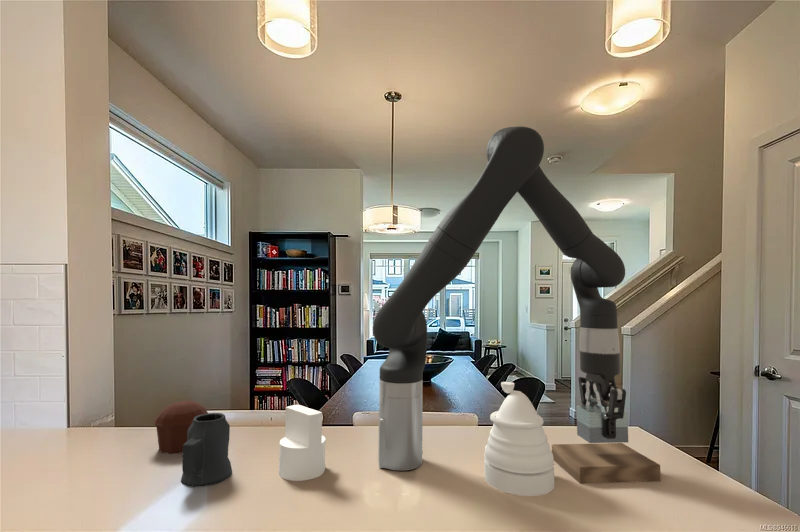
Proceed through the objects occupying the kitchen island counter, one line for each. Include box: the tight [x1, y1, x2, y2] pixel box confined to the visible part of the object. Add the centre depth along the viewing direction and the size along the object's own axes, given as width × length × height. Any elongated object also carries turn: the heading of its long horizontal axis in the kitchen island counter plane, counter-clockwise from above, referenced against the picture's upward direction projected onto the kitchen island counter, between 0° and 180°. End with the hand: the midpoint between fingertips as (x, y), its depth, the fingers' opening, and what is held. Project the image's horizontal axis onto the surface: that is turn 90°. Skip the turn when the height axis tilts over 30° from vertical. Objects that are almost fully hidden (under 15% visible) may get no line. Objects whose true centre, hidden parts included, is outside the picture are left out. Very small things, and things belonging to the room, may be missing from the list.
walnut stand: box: [551, 442, 662, 484], centre depth 84 cm, size 16×12×3 cm
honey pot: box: [483, 381, 555, 497], centre depth 80 cm, size 13×13×18 cm
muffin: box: [153, 400, 208, 455], centre depth 96 cm, size 12×11×10 cm
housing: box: [575, 405, 629, 444], centre depth 85 cm, size 5×8×6 cm, turn 94°
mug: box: [180, 412, 233, 488], centre depth 79 cm, size 12×9×11 cm
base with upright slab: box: [278, 404, 326, 482], centre depth 83 cm, size 9×9×12 cm
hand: (601, 433), depth 85 cm, fingers closed on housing, 5 cm apart
